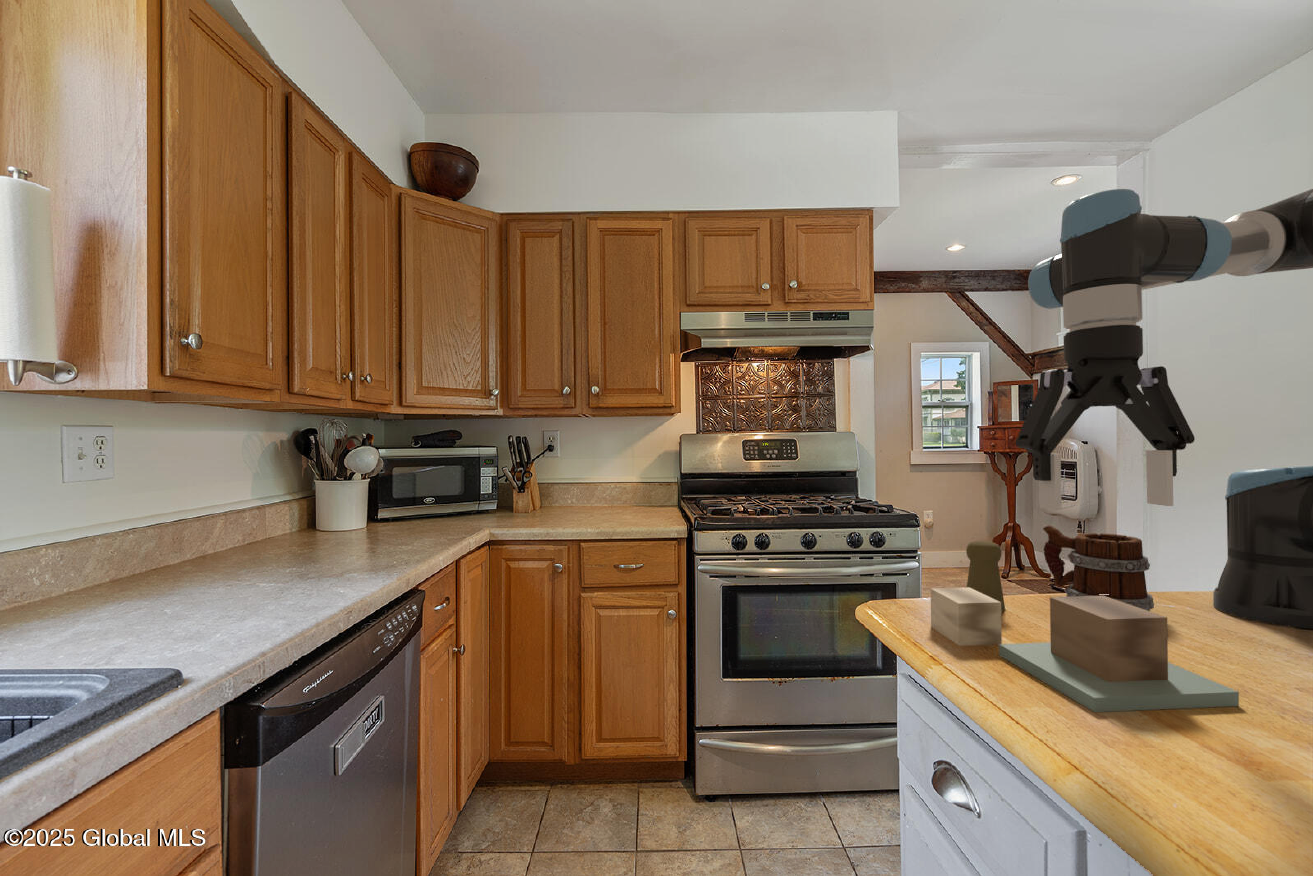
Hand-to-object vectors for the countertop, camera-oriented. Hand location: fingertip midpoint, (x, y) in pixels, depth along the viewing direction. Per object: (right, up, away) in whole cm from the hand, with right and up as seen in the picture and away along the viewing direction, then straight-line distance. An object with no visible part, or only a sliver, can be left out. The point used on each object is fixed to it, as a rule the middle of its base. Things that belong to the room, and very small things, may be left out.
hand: (1105, 506), depth 71 cm
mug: (+20, -20, +28) cm, 40 cm away
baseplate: (0, -20, 0) cm, 20 cm away
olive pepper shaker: (+2, -20, +29) cm, 36 cm away
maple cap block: (-9, -21, +16) cm, 27 cm away
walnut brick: (0, -19, 0) cm, 19 cm away
